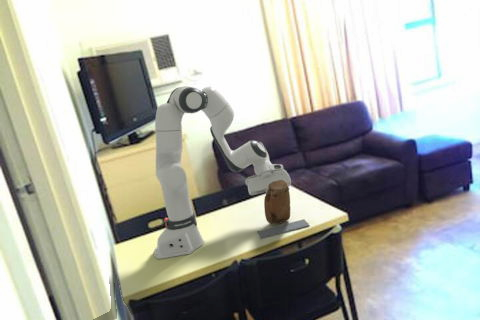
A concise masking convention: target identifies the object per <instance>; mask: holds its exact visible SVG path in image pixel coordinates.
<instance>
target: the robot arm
mask: <svg viewBox="0 0 480 320" xmlns="http://www.w3.org/2000/svg"><path fill="white" fill-rule="evenodd" d="M200 111H202V113H204V115H205V116H206V117H207V119H209V121H210V124H211V125H210V128H209V130H210V134H211V137H212V138H213V141H214V142H215V144H216V146H217V148H218V150H219V151H220V153H221V155H222V156H223V158H224V161H225V163H226V166H227V167H228V169H229V170H230V171H232V172H234V173H240V172H242V171H243V170H245V169H246V168H247V167H249V166H250V165H252V166H253V171H254V173H255V174H254V175H251V176H247V177H246V178H245V179H244V182H245V185H246V186H247V190H248V195H250V196H255V195H256V196H257V195H260V194H263V193H265V194H266V193H267V190H268V189H269V184H270V183H272V182H274V181H278V180H284V181H285V182H286V183H287V185H288V187H290V186H291V184H292V179H291V176H290V174H289V173H288V172H287V170H286V169H284V165H283V164H276V163H275V164H273V163H272V162H271V161H270V155H269V153H268V151H267V149H266V146H264V144H263V143H262V142H261V141H257V140H249V141H247V142H246V143H244V144H242V145H241V146H239V147H238V148H236V149H234V150H232V148H230V146H229V144H228V142H227V140H226V138H225V133H226V132H227V131H228V129H229V127H231V125H232V124H233V121H234V118H235V117H234V116H235V111H234V110H233V108H232V106H231V105H230V103H229V102H228V100H227V99H226V98H225V97H224V96H223V95H222V94H221V93H220V92H219V91H218V90H217V89H216V88H214V87H212V86H207V87H204V88H201V89H200V88H196V87H193V86H192V87H190V86H179V87H176V88H175V89H173V90H172V91H171V93H170V95H169V96H168V100H166V103H162V104H160V105H159V106H158V107H157V109H156V114H155V124H154V125H155V126H154V129H155V130H154V131H155V176H156V178H157V180H158V182H159V183H160V187H161V190H162V195H163V201H164V202H163V203H164V206H165V210H166V214H167V216H168V217H165V218H164V219H163V221H164V225H165V229H164V230H163V231H162V232H161V233H160V235H159V236H158V238H157V241H156V242H157V246H156V247H155V248H154V251H153V255H154V258H155V259H156V260H162V259H168V258H174V257H179V256H185V255H189V254H192V253H193V252H194V251H195V250H197V249H199V248H200V247H202V246H203V245H204V243H205V240H204V238H203V237H202V235H201V233H200V229H199V228H198V222H197V218H196V215H195V212H194V210H193V207H192V203H191V199H190V198H191V197H190V192H189V191H190V189H189V185H188V179H187V174H186V171H185V169H184V168H183V167H182V152H183V129H182V128H183V127H182V120H183V116H184V115H185V114H195V113H198V112H200Z"/></svg>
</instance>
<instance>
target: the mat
mask: <svg viewBox="0 0 480 320" xmlns="http://www.w3.org/2000/svg"><path fill="white" fill-rule="evenodd" d="M308 227H310V224H309V223H308V222H307V221H306V220H305V219H304V218H303V219H300V220H296V221H292V222H287V223H284V224H280V225H276V226H272V227H268V228H265V229H260V230H257V235H258V236H259V238H260V239H261V240H263V239H266V238H269V237H274V236H277V235H281V234H285V233H289V232H294V231H297V230H300V229H305V228H308Z"/></svg>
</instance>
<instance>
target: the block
mask: <svg viewBox="0 0 480 320" xmlns="http://www.w3.org/2000/svg"><path fill="white" fill-rule="evenodd" d="M263 202H264V203H263V204H264V205H263V206H264V217H265V219H266V221H267V223H269V225H279V224H282V223H285V222H288V221H289V220H290V218H291V194H290V186H288V185H287V183H286V182H285V181H284V180H278V181H274V182H272V183H270V184H269V189H268V190H267V193H266V192H265V196H264V201H263Z"/></svg>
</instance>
